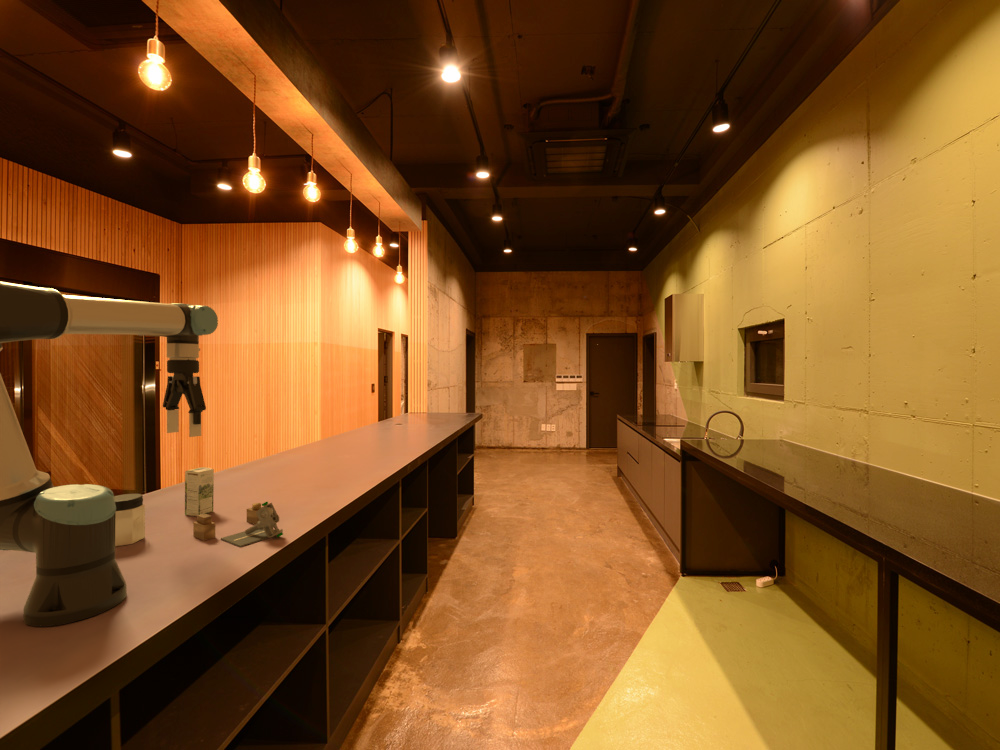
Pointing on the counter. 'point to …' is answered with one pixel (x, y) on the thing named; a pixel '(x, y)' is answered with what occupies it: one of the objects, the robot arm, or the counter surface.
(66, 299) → the robot arm
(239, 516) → the counter surface
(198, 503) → the syrup box
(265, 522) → the mechanical component
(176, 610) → the counter surface
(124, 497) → the jar
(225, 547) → the counter surface
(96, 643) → the counter surface
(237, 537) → the mat
